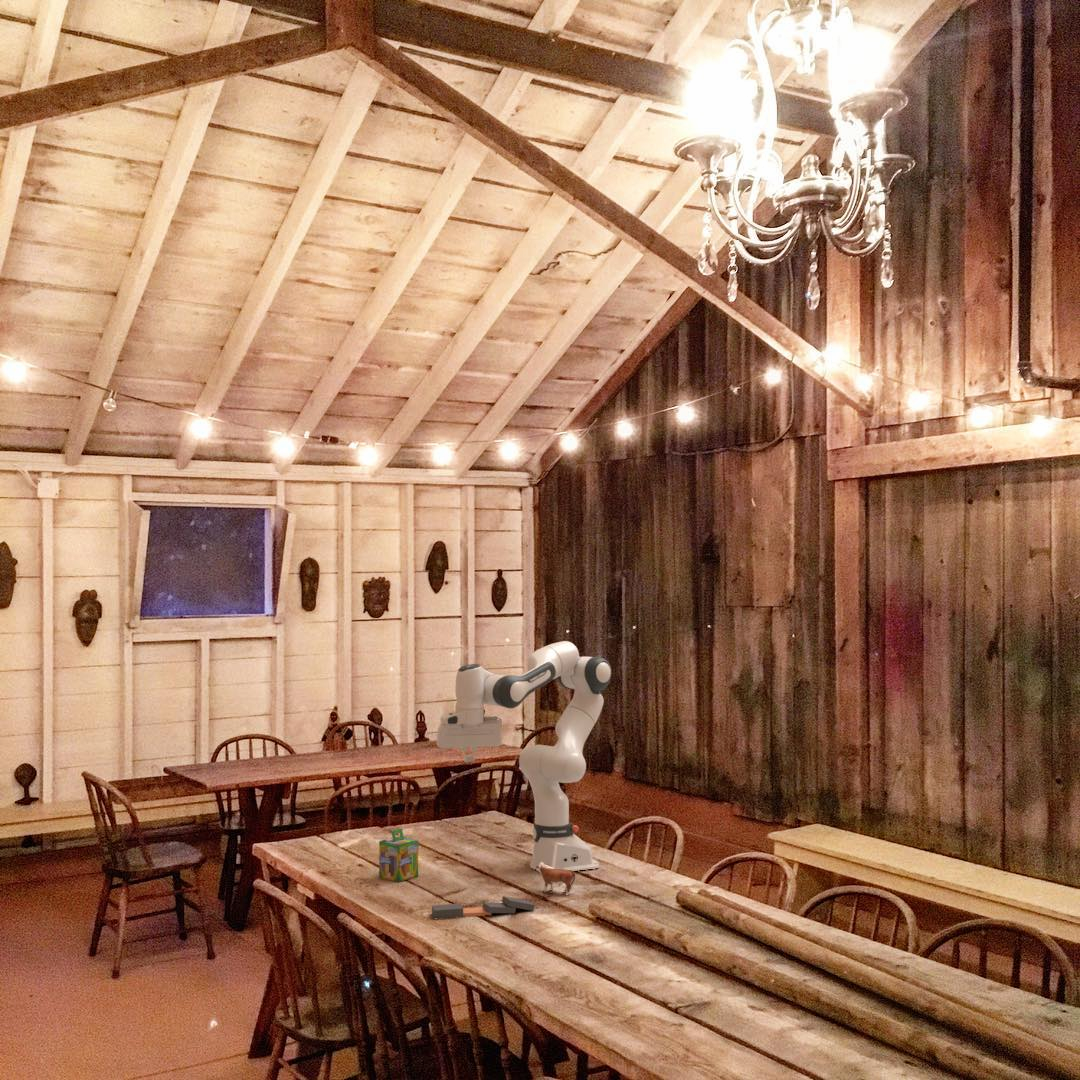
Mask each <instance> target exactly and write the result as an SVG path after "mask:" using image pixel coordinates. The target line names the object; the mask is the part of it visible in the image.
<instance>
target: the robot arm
mask: <svg viewBox="0 0 1080 1080" xmlns="http://www.w3.org/2000/svg"><path fill="white" fill-rule="evenodd" d="M526 663H527V664H526V665H527V672H525V673H523V674H521V675H511V674H510V675H506V674H496V673H492V672H490V671H488V670H486V669H485V668H483V667H482V665H481V664H477V663H471V664H465V665H462V666H460V667H459V668H458V670H457V672H456V676H455V689H454V691H455V692H454V693H455V697H456V701H455V702H456V703H455V710H454V711H451V712H450V713H446V714H444V715H443V714H442V715H441V716H440V722H441V724H440V725H439V726H438V728H437V732H436V733H437V734H436V746H437V747H438V748H439V749H460V752H461V754H462V755H463V757H464V758H463V761H464V763H475V757H476V756H477V753H478V752H479V748H486V747H487V748H492V747H493V748H494V747H500V746H501V745H502V744H503V738H502V727H503V720H502V719H501V718H500V717H498V716H496V715H495V716H485V714H484V713H485V712H484V710H485V708H484V707H485V706H484V705H485V704H486V705H491V706H496V707H497V706H498V707H499V706H500V707H502V708H506V709H514V708H517V707H519V706H520V705H521V704H522V703H523V702H524V700H525V699H526V698H527V697H528V696H529V695H530V694H533V693H534V692H535V691H537V690H539V689H540V688H542V687H544V686H546V685H548V683H550V682H551V681H553V680H556V682H557V684H558V685H559V687H562V688H565V689H567V690H574V693H573V696H572V699H571V701H570V702H569V703H568V705H567V706H566V707H565V710H564V711H563V713H561V716H560V717H559V719H558V721H557V722H556V724H555V727H554V729H555V733H556V736H557V737H558V740H557V742H556V743H555V745H554V746H552V745H544V744H532V745H527V746H526V747H524V748H523V749H522V751H521V752H520V754H519V758H518V763H519V765H518V766H519V768H520V770H521V771H522V773H524V774H523V775H525V776H526V777H527V780H528V782H529V784H530V787H531V790H532V793H533V794H532V795H533V800H534V822H533V830H532V831H533V833H532V835H533V836H532V837H533V840H534V844H533V849H532V850H533V851H532V856H531V861H530V864H529V867H530V869H532V868H533V870H535V869H536V870H535V871H537V868H536V866H537V865H539V863H541V862H543V863H544V865H546V864H548V865H549V866H550V867H553V868H556V869H564V870H572V871H577V870H582V869H589V868H590V869H591V868H598V867H599V868H600V863H599V862H598V861H597V860H596V859H595V858H594V857H593V854H592V850H591V848H590V846H589V845H588V843H586V842H585V841H584V840H582V839H581V838H580V837H578V835H576V834H575V833H578V831H580V827H578V825H575V824H573V823H572V822H570V816H569V815H570V814H569V812H570V810H569V809H570V806H569V805H570V803H569V802H570V801H569V798H568V796H567V794H565V793H564V791H563V790H562V788H561V786H560V783H561V784H562V783H563V784H569V783H570V784H572V783H577V782H579V781H581V780H582V779H583V777H584V776H585V773H586V770H587V762H586V759H585V757H584V755H583V750H584V746H585V742H586V741H587V739H588V737H589V735H590V734H591V731H592V730H593V729H594V726H595V725H596V723H597V721H598V720H599V719H598V718H599V717H600V715H601V713H602V709H603V706H604V703H605V701H604V697H603V695H602V694H603V693H604V692H605V691H606V690H607V689H608V685H609V684H610V682H611V678H612V675H613V672H612V671H613V670H612V666H611V664H610V662H609V660H607V659H605V658H603V657H600V656H580V652H579V649H578V648H577V646H576V645H575V644H574V643H573V642H570V641H568V640H563V641H558V642H554V643H550V644H548V645H545V646H542V647H541V648H538V649H536V650H535V651H533V652H532V653H531V654H530V655H529V656H528V658H527V662H526ZM467 748H471V749H472V753H471V755H467V753H466V752H467ZM599 868H598V869H599Z"/></svg>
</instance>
